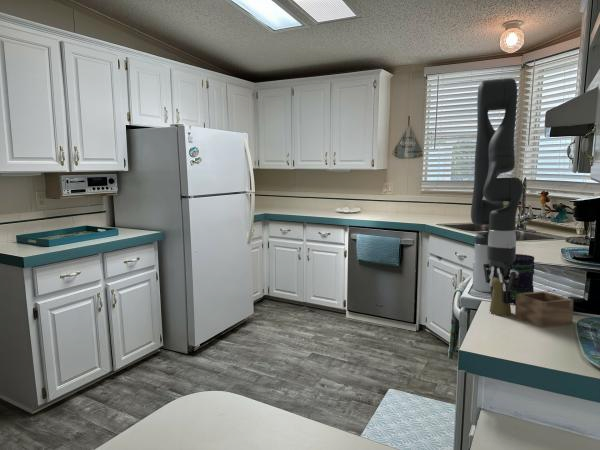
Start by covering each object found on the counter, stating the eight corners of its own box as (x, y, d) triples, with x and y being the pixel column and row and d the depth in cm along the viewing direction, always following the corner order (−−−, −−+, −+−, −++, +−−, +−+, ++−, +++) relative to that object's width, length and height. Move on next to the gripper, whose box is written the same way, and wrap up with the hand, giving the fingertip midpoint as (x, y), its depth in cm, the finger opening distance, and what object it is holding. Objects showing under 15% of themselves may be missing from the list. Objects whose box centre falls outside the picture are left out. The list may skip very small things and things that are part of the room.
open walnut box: (515, 317, 123) (515, 293, 122) (543, 314, 125) (544, 291, 124) (542, 328, 113) (542, 303, 112) (572, 324, 115) (573, 299, 115)
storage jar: (537, 305, 133) (538, 259, 131) (503, 304, 135) (504, 258, 134) (528, 297, 142) (530, 254, 141) (497, 296, 145) (498, 253, 144)
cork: (507, 317, 122) (508, 280, 121) (486, 313, 126) (487, 277, 125) (514, 312, 126) (514, 276, 125) (493, 308, 130) (493, 274, 129)
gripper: (475, 242, 130) (474, 295, 132) (507, 248, 117) (506, 308, 118) (496, 241, 132) (495, 294, 134) (530, 247, 118) (528, 306, 120)
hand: (500, 300), depth 126 cm, fingers closed on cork, 4 cm apart
